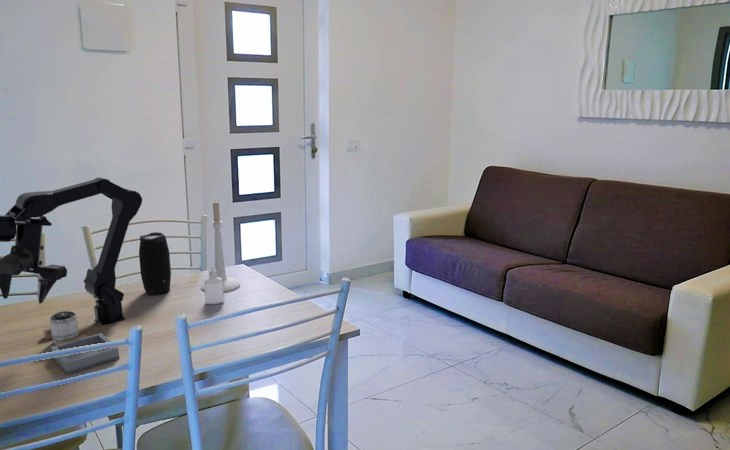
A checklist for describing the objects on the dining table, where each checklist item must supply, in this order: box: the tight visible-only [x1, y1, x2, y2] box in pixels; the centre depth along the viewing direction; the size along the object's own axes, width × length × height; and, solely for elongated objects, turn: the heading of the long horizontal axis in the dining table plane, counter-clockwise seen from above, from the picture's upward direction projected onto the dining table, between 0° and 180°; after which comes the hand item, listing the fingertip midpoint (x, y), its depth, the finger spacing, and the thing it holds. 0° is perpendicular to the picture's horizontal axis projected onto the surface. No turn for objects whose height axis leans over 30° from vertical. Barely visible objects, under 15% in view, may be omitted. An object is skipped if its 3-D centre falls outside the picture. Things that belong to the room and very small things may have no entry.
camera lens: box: [49, 310, 79, 346], centre depth 149 cm, size 6×6×8 cm
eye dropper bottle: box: [203, 265, 225, 305], centre depth 176 cm, size 4×6×12 cm
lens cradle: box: [43, 326, 88, 345], centre depth 150 cm, size 7×14×2 cm, turn 44°
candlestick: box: [201, 200, 241, 294], centre depth 188 cm, size 13×13×30 cm
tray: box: [51, 332, 120, 376], centre depth 140 cm, size 12×12×3 cm
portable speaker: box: [138, 231, 172, 296], centre depth 185 cm, size 9×9×20 cm
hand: (23, 300), depth 146 cm, fingers open, 9 cm apart
